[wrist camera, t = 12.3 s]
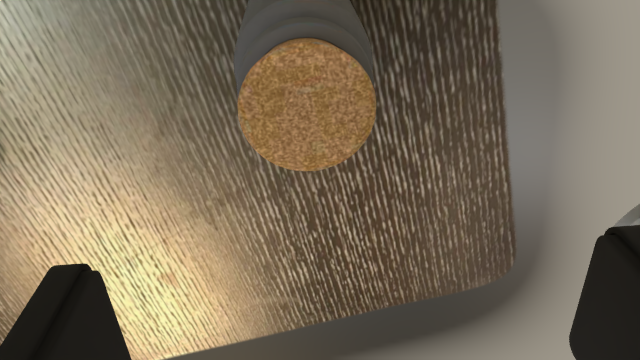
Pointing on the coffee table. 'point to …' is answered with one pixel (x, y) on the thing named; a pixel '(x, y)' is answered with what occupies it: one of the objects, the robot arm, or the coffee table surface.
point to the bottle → (304, 82)
